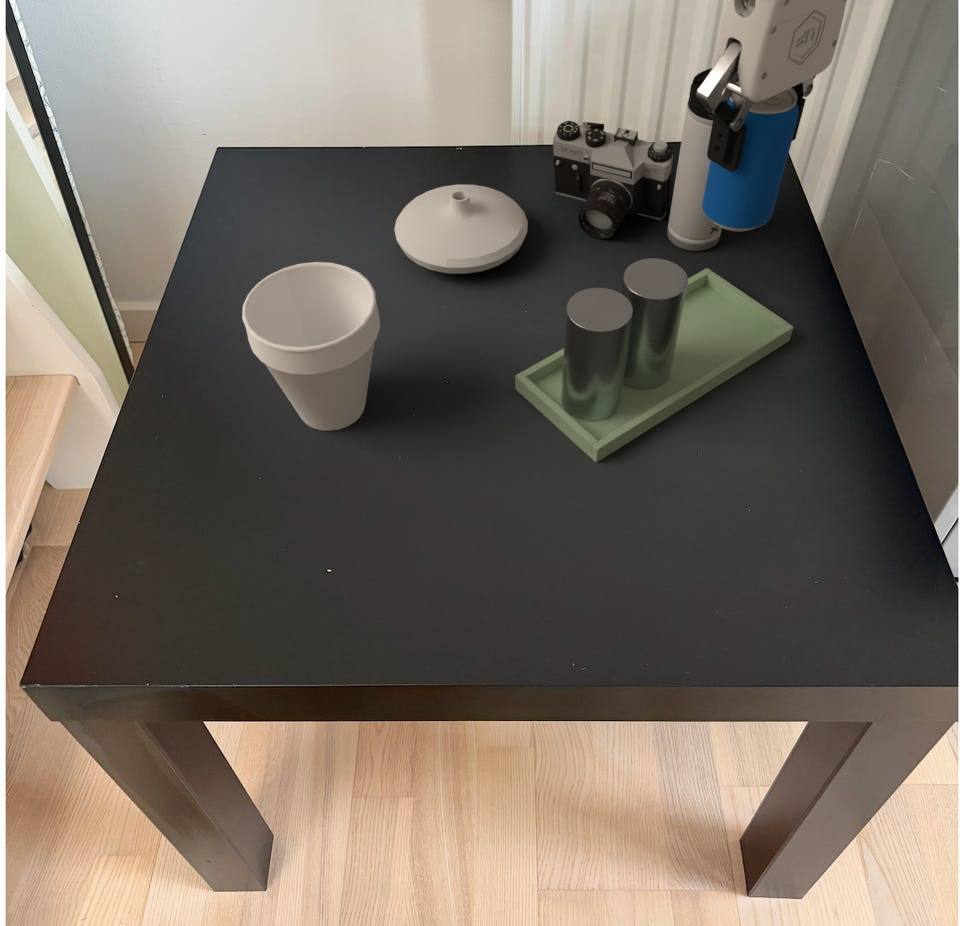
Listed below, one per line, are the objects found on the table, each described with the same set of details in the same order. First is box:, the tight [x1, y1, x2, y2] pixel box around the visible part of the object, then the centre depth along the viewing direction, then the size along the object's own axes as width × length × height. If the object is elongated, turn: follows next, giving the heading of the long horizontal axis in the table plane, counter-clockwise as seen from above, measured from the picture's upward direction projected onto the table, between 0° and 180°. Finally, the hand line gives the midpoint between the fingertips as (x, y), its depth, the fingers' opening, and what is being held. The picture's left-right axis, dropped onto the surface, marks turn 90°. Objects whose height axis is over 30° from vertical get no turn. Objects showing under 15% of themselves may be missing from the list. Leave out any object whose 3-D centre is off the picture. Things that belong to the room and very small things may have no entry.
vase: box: [393, 184, 529, 275], centre depth 106 cm, size 16×16×7 cm
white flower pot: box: [241, 261, 381, 432], centre depth 88 cm, size 12×12×14 cm
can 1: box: [561, 287, 633, 421], centre depth 87 cm, size 6×6×12 cm
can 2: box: [620, 257, 689, 390], centre depth 90 cm, size 6×6×12 cm
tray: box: [514, 267, 795, 464], centre depth 95 cm, size 13×28×2 cm, turn 127°
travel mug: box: [666, 67, 739, 252], centre depth 101 cm, size 6×7×20 cm
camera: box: [552, 120, 674, 240], centre depth 109 cm, size 15×11×10 cm
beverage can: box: [702, 81, 799, 232], centre depth 81 cm, size 6×6×12 cm
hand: (751, 147), depth 80 cm, fingers closed on beverage can, 6 cm apart
